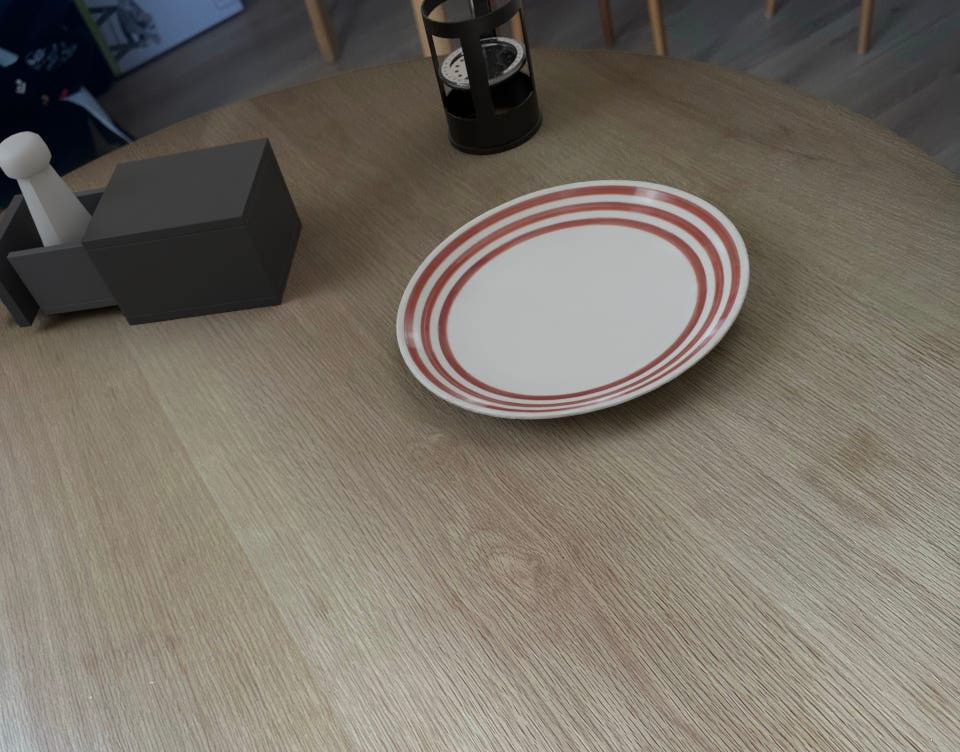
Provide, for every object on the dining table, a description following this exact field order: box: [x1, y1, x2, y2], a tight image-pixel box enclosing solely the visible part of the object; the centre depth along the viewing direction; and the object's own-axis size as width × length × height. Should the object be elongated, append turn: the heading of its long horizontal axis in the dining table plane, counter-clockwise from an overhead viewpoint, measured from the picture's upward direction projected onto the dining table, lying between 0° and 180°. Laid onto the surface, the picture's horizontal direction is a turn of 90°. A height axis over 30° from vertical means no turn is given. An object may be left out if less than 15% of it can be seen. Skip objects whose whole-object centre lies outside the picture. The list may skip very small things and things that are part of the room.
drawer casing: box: [81, 137, 303, 326], centre depth 92 cm, size 15×12×9 cm
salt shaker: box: [0, 130, 92, 247], centre depth 91 cm, size 6×6×13 cm
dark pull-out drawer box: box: [0, 186, 118, 328], centre depth 95 cm, size 20×11×7 cm, turn 86°
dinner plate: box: [395, 179, 751, 420], centre depth 80 cm, size 27×27×3 cm
